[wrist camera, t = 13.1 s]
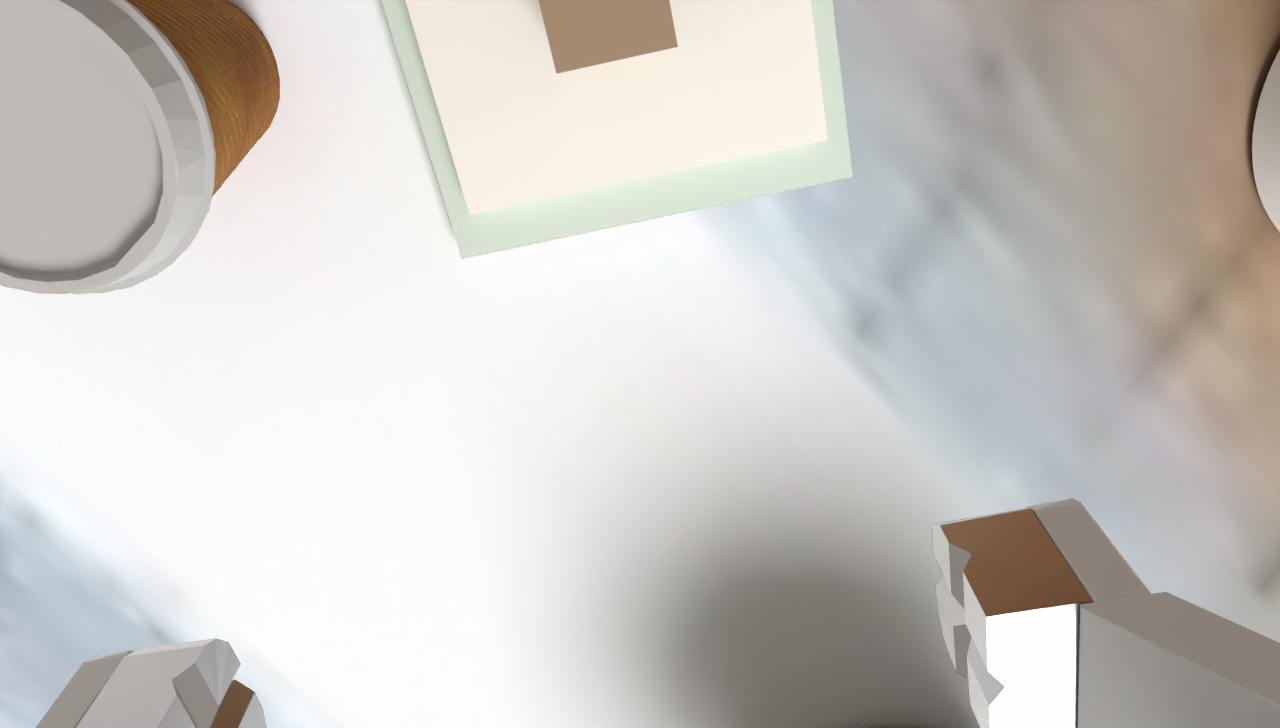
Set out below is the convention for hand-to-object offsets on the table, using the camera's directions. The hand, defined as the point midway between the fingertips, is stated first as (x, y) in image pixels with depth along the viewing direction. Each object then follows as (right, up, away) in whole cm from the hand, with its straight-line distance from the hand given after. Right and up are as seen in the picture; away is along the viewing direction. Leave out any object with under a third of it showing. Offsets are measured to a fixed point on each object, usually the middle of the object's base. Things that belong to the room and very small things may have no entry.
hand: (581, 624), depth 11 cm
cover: (-1, +17, +23) cm, 28 cm away
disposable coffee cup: (-16, +14, +25) cm, 33 cm away
